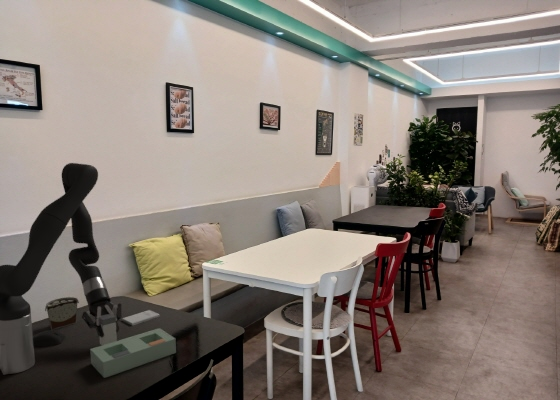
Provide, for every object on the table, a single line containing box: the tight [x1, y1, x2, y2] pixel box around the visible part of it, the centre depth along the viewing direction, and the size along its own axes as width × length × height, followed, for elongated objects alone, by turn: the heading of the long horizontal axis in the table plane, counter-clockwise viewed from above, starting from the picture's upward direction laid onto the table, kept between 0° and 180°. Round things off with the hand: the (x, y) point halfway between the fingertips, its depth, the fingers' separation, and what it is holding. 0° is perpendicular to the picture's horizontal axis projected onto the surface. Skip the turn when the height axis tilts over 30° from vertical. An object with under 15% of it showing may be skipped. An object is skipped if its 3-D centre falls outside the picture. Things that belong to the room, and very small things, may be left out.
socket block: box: [89, 327, 177, 379], centre depth 141 cm, size 24×12×5 cm, turn 132°
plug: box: [98, 314, 118, 346], centre depth 150 cm, size 4×4×10 cm
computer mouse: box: [33, 329, 66, 347], centre depth 155 cm, size 6×11×4 cm, turn 96°
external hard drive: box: [121, 309, 161, 326], centre depth 176 cm, size 2×8×12 cm
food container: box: [44, 296, 80, 330], centre depth 170 cm, size 12×6×10 cm, turn 134°
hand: (109, 334), depth 149 cm, fingers closed on plug, 4 cm apart
